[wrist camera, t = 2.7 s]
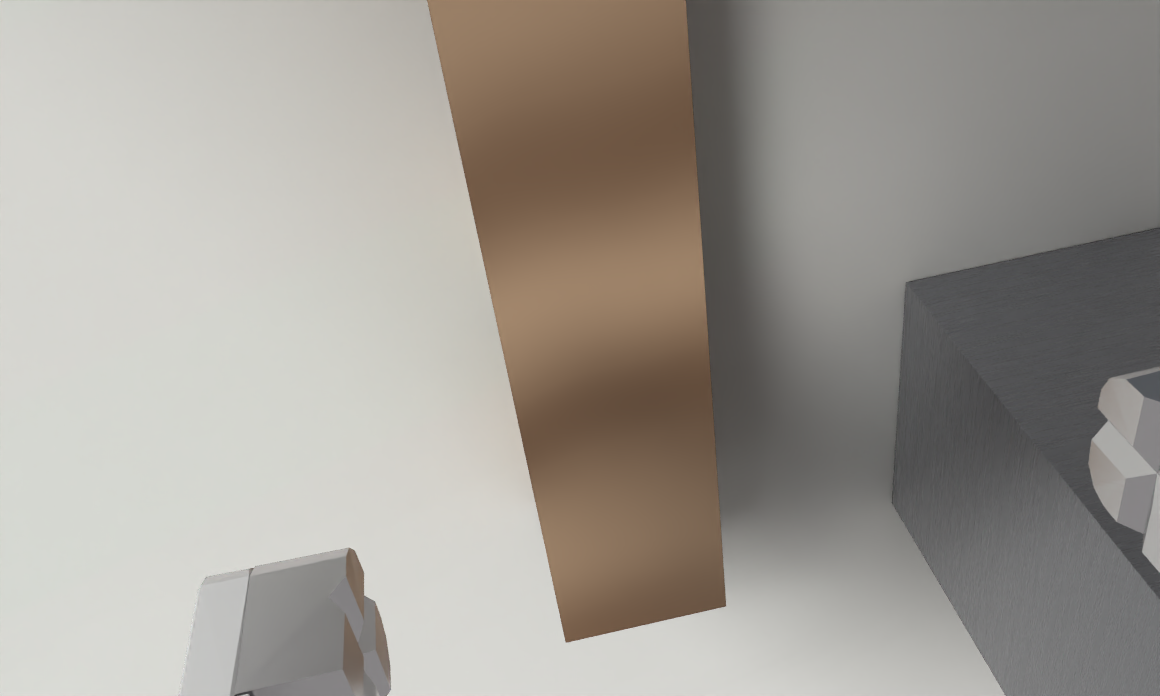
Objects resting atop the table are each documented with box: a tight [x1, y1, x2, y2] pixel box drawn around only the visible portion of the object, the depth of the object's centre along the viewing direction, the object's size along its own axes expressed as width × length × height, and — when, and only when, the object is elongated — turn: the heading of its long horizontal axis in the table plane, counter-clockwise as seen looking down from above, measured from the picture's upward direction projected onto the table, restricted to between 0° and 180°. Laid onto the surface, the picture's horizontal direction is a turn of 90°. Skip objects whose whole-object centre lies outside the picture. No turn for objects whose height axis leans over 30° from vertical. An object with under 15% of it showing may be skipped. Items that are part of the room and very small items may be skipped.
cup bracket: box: [892, 228, 1160, 696], centre depth 25 cm, size 8×8×12 cm
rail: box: [427, 0, 726, 642], centre depth 20 cm, size 26×4×5 cm, turn 7°
